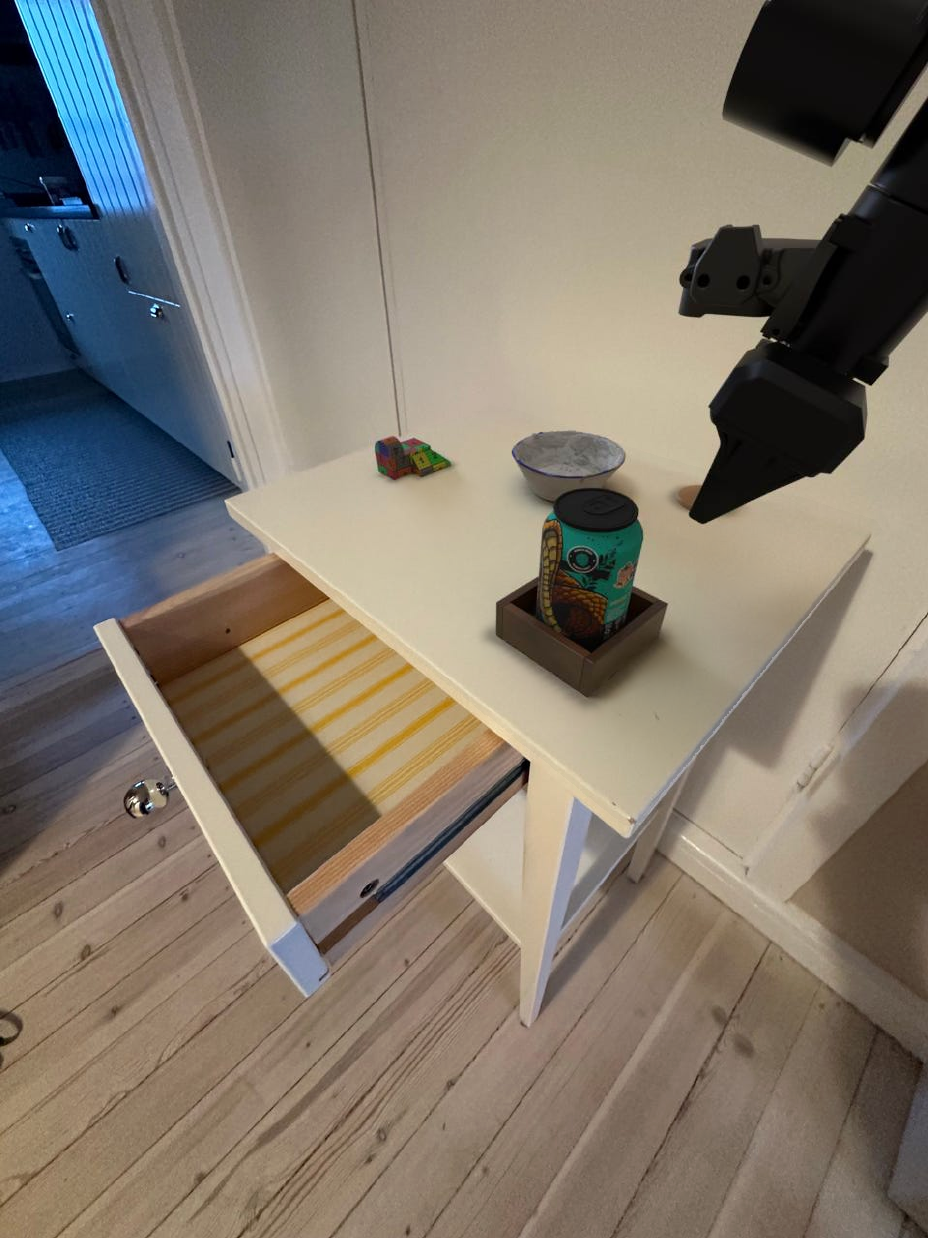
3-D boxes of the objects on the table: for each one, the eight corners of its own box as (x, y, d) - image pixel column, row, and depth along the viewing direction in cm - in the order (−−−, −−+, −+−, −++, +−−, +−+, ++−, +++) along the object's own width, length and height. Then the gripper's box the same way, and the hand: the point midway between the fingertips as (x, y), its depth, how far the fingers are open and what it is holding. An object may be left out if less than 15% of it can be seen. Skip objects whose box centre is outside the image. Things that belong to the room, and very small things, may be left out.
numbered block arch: (401, 484, 66) (397, 449, 63) (378, 470, 69) (373, 436, 66) (450, 465, 70) (449, 431, 67) (425, 453, 73) (423, 420, 70)
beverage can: (517, 629, 45) (523, 501, 37) (578, 598, 48) (595, 474, 40) (575, 678, 40) (595, 545, 32) (638, 641, 43) (671, 511, 35)
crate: (659, 636, 44) (668, 603, 41) (587, 697, 39) (593, 664, 37) (568, 586, 49) (572, 555, 47) (495, 634, 44) (495, 602, 42)
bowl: (489, 492, 64) (490, 454, 61) (547, 457, 71) (549, 421, 68) (584, 525, 57) (590, 484, 54) (636, 482, 65) (644, 444, 62)
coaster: (739, 497, 61) (740, 493, 61) (722, 518, 57) (724, 514, 57) (687, 484, 64) (688, 480, 64) (669, 504, 60) (670, 500, 60)
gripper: (789, 141, 31) (649, 390, 42) (720, 133, 19) (552, 482, 31) (976, 222, 29) (775, 460, 41) (1029, 272, 17) (724, 587, 29)
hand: (712, 488), depth 35 cm, fingers open, 9 cm apart
